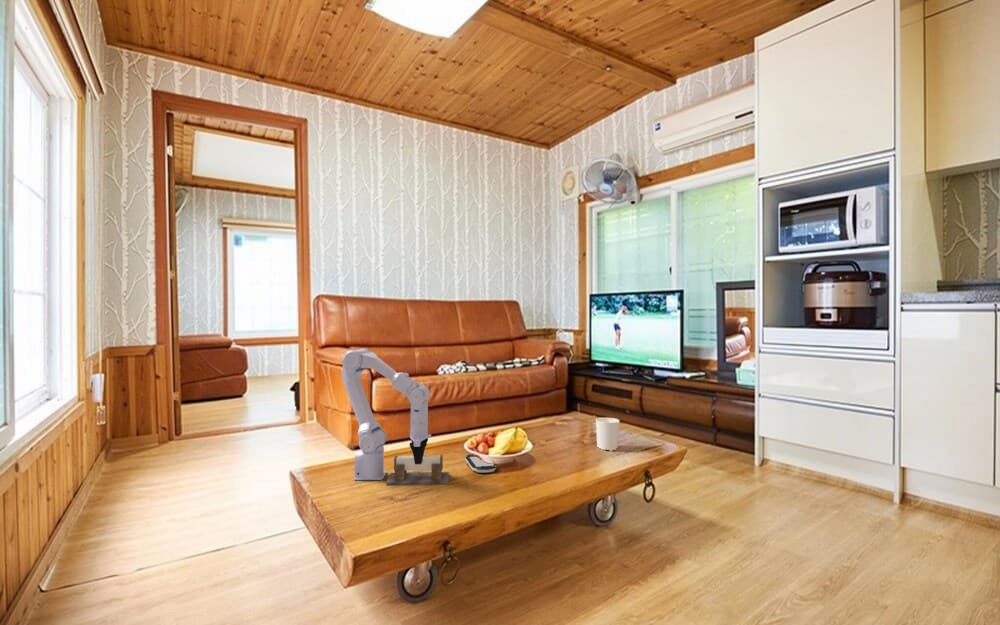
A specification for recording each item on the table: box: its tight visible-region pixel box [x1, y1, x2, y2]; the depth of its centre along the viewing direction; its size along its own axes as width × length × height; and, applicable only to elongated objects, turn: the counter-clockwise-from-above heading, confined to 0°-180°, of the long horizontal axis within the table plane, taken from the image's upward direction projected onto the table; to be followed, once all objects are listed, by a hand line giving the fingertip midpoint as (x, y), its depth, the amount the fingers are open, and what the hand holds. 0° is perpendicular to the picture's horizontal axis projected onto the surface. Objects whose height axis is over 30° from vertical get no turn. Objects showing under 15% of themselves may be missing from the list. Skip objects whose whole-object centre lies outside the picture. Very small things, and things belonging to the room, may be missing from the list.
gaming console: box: [464, 453, 498, 475], centre depth 175 cm, size 19×9×2 cm, turn 17°
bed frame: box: [385, 464, 450, 486], centre depth 159 cm, size 20×9×6 cm, turn 94°
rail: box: [393, 454, 444, 472], centre depth 159 cm, size 16×3×4 cm, turn 94°
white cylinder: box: [595, 417, 621, 450], centre depth 198 cm, size 10×10×12 cm
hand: (418, 462), depth 159 cm, fingers closed on rail, 3 cm apart
